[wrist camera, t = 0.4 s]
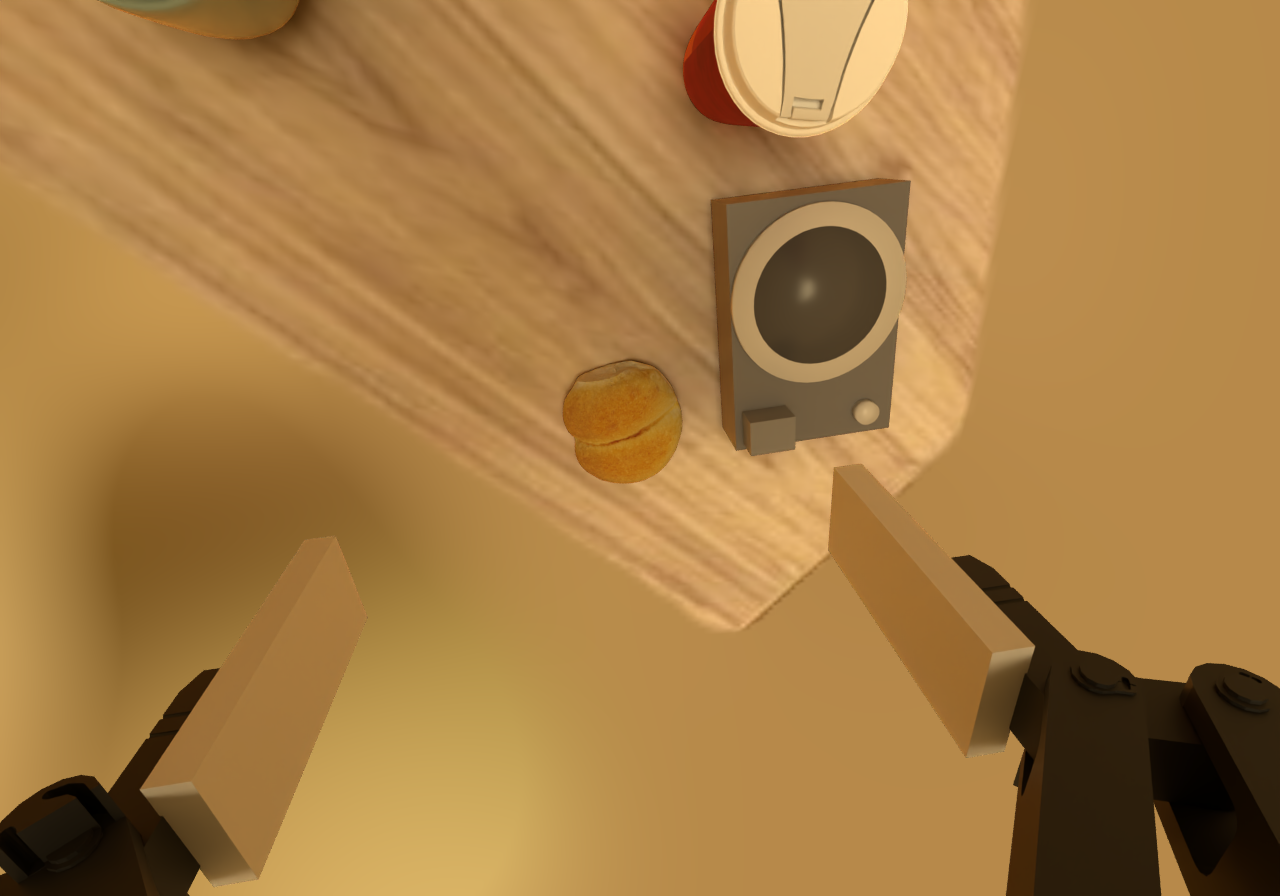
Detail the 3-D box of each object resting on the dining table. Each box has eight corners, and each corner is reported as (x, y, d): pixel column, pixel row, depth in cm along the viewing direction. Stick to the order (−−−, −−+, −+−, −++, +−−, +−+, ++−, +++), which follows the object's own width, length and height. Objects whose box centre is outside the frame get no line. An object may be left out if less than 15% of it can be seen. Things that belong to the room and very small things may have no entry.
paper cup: (781, 147, 37) (892, 143, 24) (659, 138, 36) (709, 128, 23) (805, -8, 33) (948, -105, 21) (670, -24, 32) (737, -135, 20)
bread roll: (588, 483, 46) (590, 511, 42) (551, 378, 42) (549, 399, 38) (691, 453, 46) (701, 479, 42) (663, 346, 42) (672, 364, 38)
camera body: (711, 199, 38) (735, 207, 32) (878, 178, 38) (929, 182, 33) (722, 427, 45) (744, 463, 40) (863, 406, 45) (903, 439, 40)
